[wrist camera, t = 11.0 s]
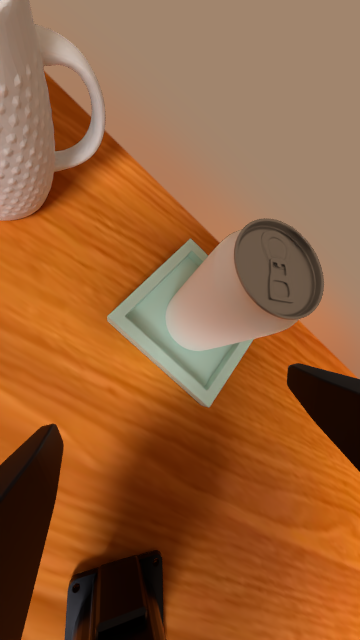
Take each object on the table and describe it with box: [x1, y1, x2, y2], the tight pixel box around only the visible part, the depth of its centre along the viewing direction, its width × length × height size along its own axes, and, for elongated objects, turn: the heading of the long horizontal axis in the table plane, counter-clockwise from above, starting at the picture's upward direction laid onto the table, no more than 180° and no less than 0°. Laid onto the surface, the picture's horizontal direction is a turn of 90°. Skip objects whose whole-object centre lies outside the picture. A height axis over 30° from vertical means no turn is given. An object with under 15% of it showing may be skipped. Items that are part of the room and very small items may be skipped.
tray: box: [107, 238, 253, 408], centre depth 22 cm, size 12×12×2 cm
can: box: [165, 219, 324, 351], centre depth 17 cm, size 6×6×12 cm
